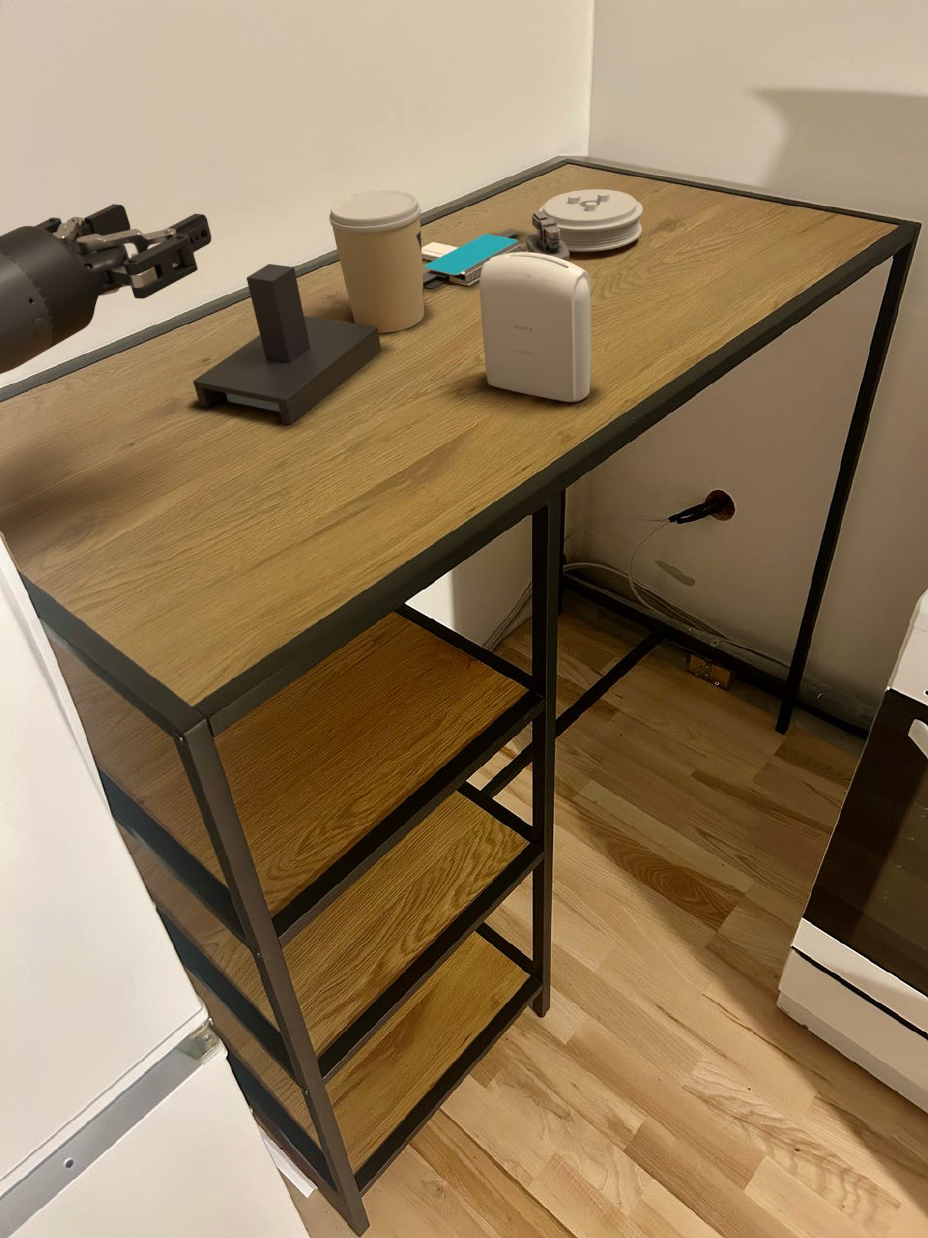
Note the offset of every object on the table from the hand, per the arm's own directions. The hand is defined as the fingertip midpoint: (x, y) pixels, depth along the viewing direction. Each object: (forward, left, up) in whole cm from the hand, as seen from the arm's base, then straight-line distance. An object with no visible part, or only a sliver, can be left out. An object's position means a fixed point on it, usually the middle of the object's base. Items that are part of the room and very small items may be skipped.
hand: (163, 221), depth 73 cm
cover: (+8, +7, -19) cm, 22 cm away
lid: (+51, +23, -19) cm, 59 cm away
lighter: (+37, +6, -19) cm, 42 cm away
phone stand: (+35, +26, -19) cm, 47 cm away
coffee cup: (+22, +15, -19) cm, 32 cm away
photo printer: (+29, -8, -19) cm, 35 cm away
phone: (+9, +7, -19) cm, 22 cm away
